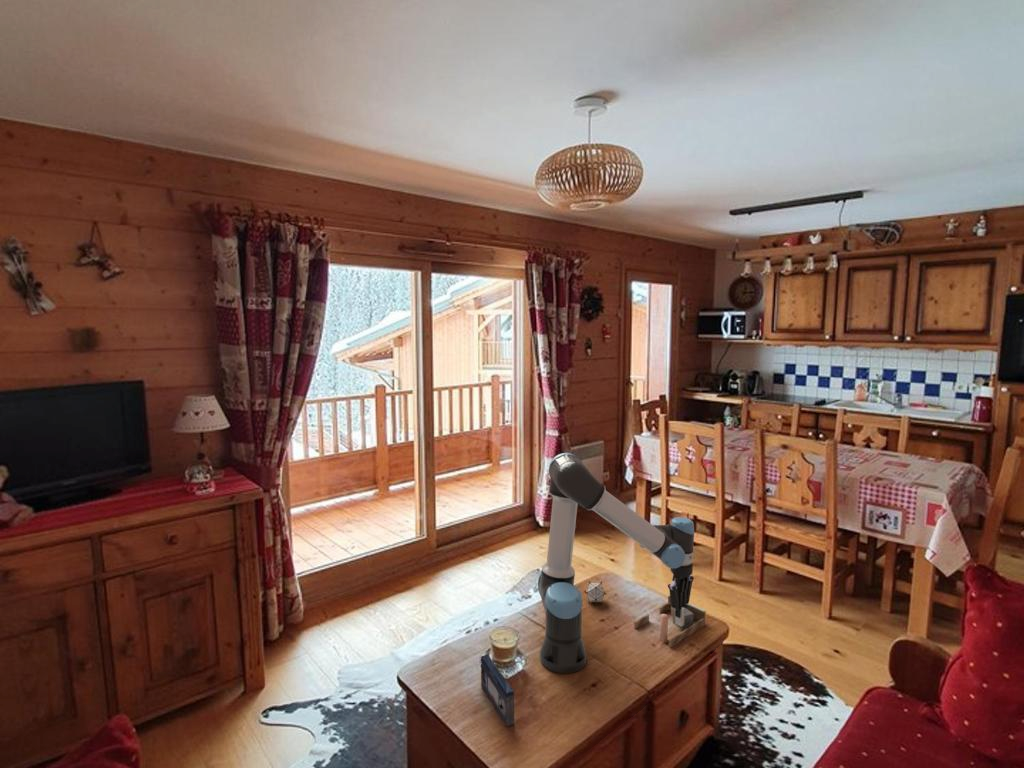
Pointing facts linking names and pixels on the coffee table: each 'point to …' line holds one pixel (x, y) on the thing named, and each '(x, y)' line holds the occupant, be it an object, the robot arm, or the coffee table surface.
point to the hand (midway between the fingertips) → (679, 624)
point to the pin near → (664, 628)
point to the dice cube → (685, 619)
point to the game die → (595, 592)
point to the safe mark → (695, 607)
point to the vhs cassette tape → (497, 690)
